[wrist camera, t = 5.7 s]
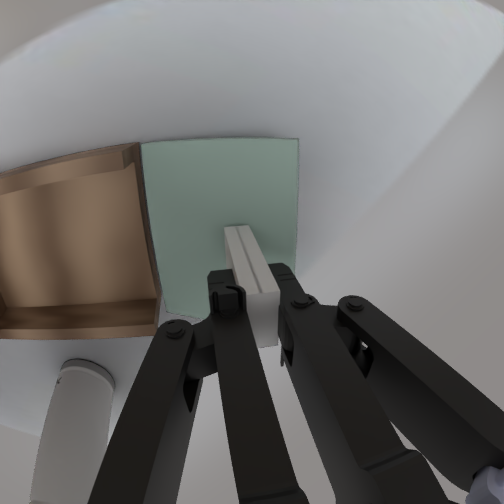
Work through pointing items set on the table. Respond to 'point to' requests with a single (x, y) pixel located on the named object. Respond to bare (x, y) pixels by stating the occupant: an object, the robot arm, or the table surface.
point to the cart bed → (77, 249)
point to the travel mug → (73, 435)
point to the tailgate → (217, 208)
